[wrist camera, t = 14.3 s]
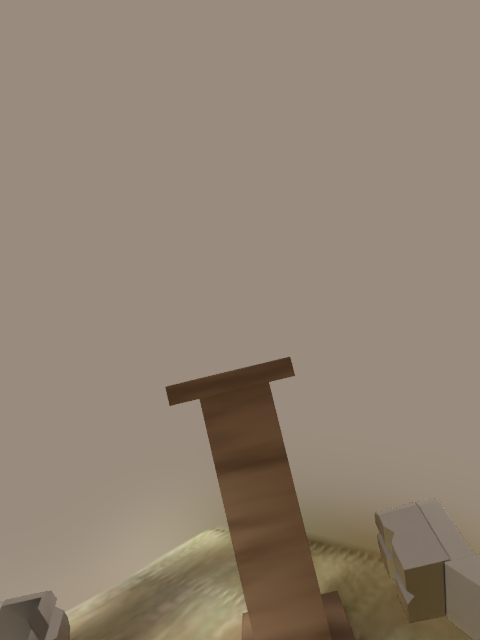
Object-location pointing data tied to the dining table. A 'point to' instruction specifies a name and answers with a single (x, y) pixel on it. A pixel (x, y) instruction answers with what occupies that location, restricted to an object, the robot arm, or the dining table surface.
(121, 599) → the dining table surface
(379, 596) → the dining table surface
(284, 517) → the stand
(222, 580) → the dining table surface
